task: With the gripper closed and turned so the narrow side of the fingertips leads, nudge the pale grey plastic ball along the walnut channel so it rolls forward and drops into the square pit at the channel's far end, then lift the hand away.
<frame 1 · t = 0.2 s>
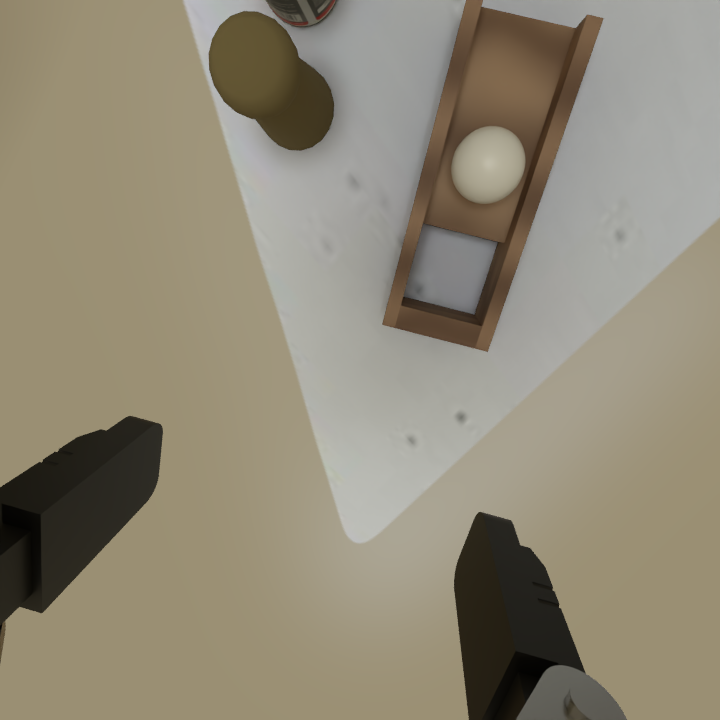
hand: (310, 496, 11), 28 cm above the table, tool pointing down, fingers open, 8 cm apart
pepper mill: (296, 108, 34), on the table
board: (471, 193, 34), on the table
ball: (487, 166, 29), point 5 cm above the table, touching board
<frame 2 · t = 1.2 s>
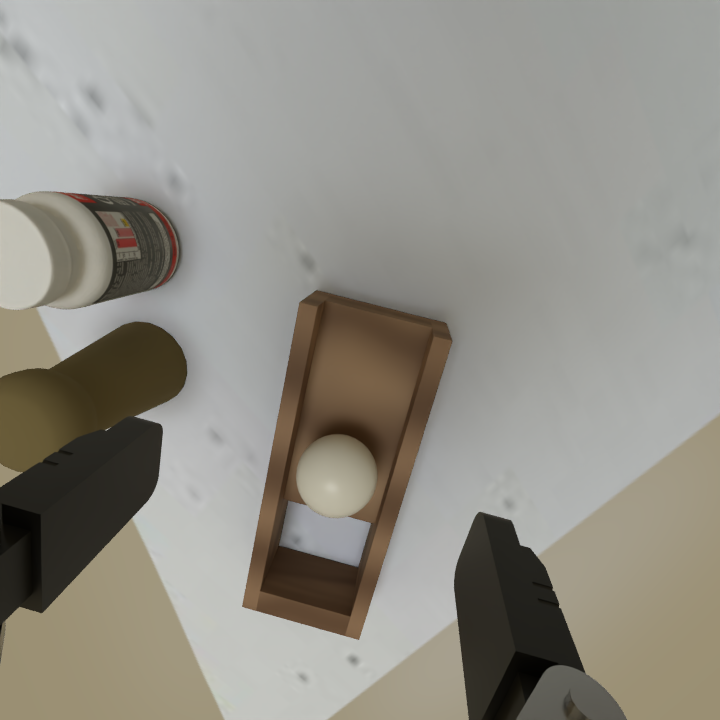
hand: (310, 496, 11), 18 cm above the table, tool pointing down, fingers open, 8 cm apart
pepper mill: (147, 362, 31), on the table
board: (343, 455, 31), on the table
pill bottle: (141, 245, 28), on the table
ball: (337, 475, 26), point 5 cm above the table, touching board
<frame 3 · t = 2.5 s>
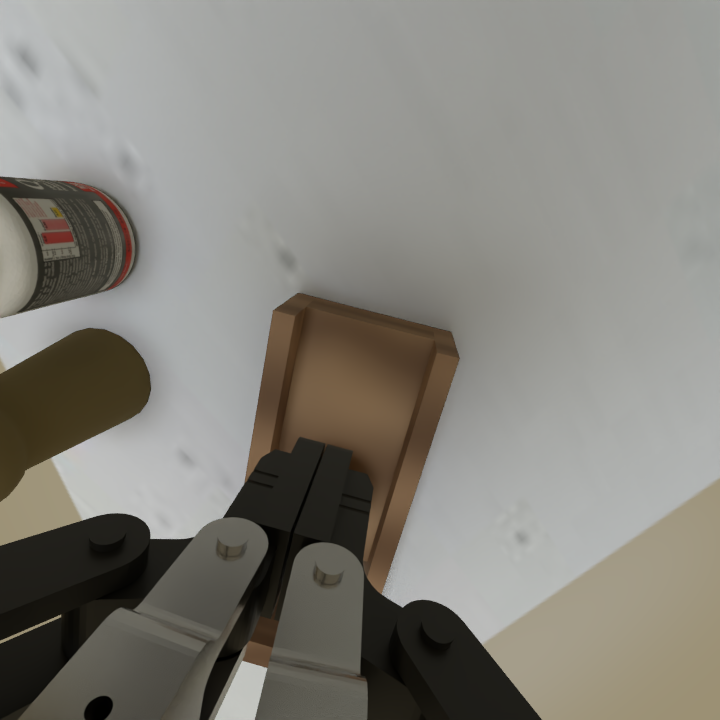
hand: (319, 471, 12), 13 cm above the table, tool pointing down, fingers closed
pepper mill: (105, 375, 27), on the table
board: (332, 481, 27), on the table
pill bottle: (92, 239, 24), on the table
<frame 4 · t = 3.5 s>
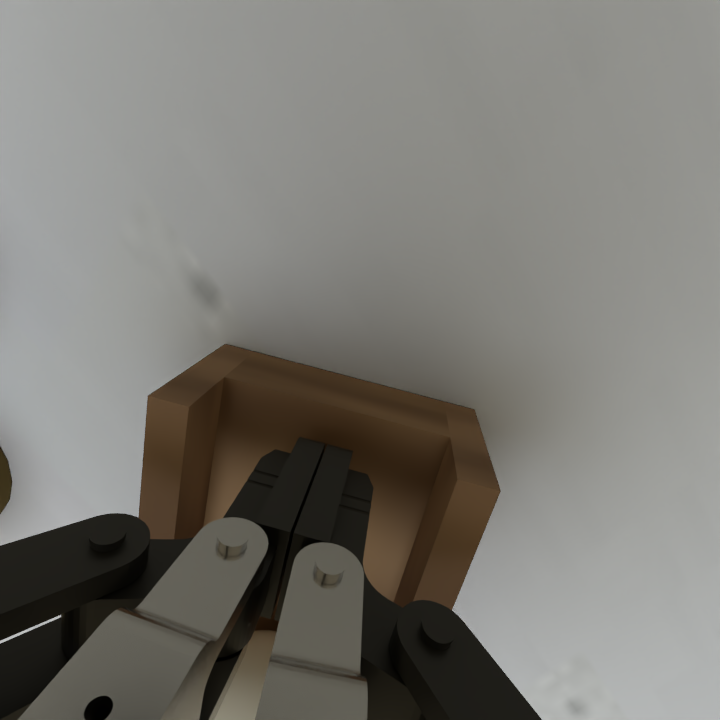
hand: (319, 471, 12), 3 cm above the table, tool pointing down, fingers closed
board: (289, 620, 18), on the table
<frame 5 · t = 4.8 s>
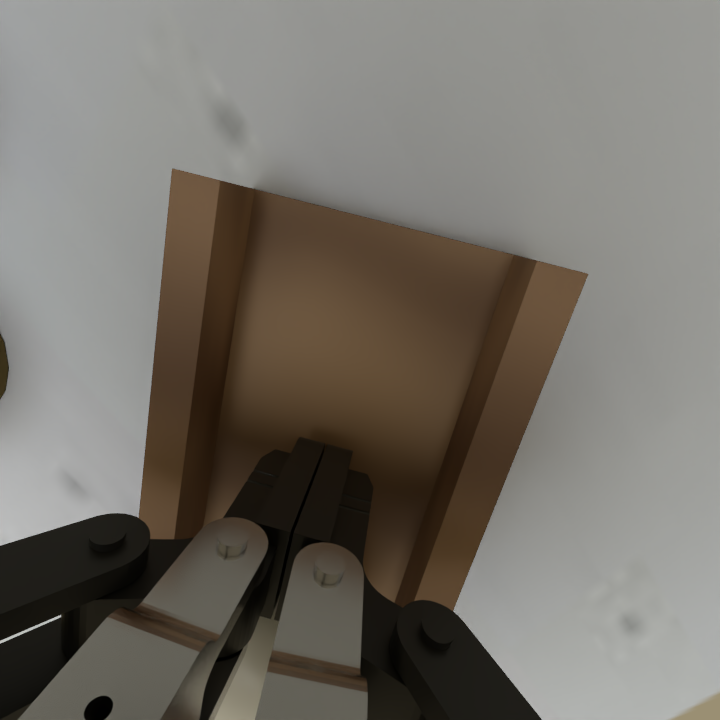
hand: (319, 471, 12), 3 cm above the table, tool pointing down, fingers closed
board: (312, 526, 16), on the table
ball: (276, 621, 11), point 5 cm above the table, tilted 12°, touching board, gripper
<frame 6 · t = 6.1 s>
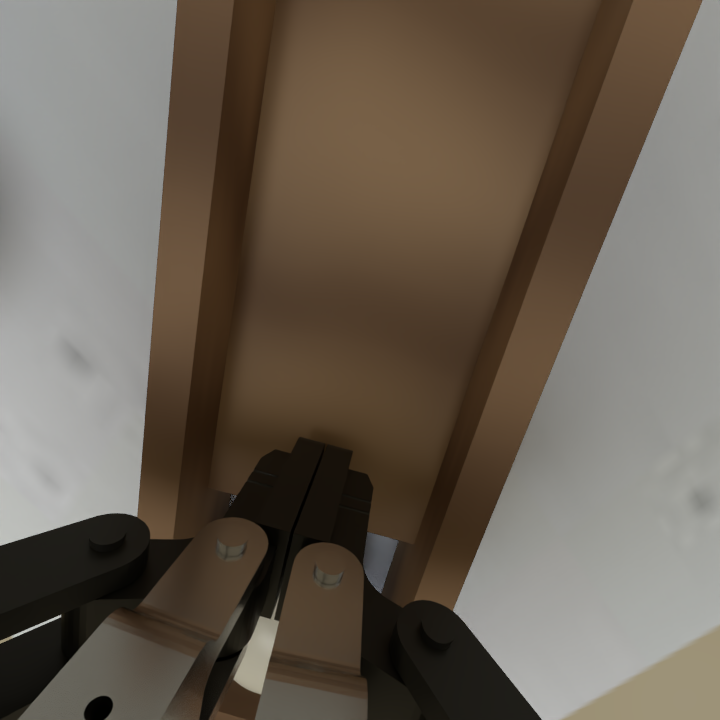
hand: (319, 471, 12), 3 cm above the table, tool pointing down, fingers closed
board: (343, 395, 14), on the table
ball: (285, 603, 14), point 2 cm above the table, tilted 166°
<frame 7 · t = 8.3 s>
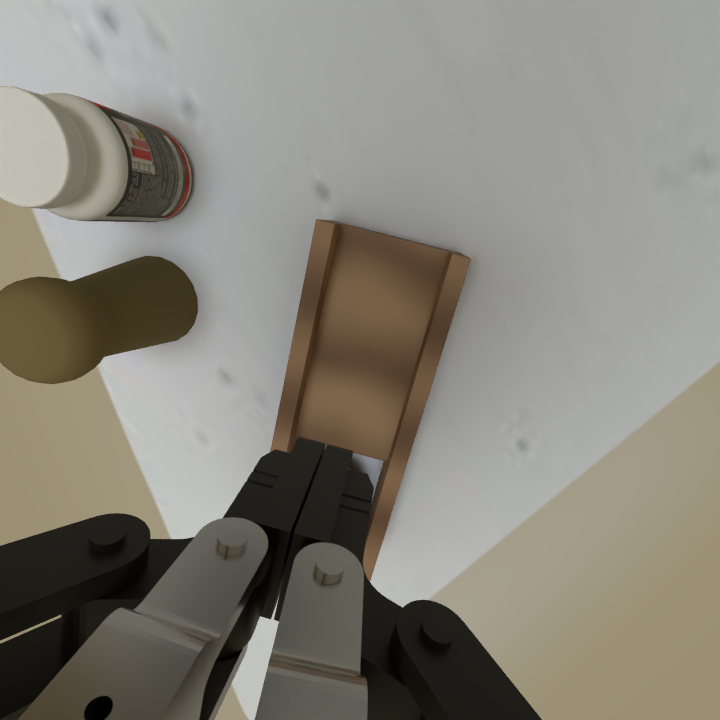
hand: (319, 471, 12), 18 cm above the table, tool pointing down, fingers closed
pepper mill: (157, 300, 30), on the table
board: (355, 395, 30), on the table
pill bottle: (153, 175, 28), on the table
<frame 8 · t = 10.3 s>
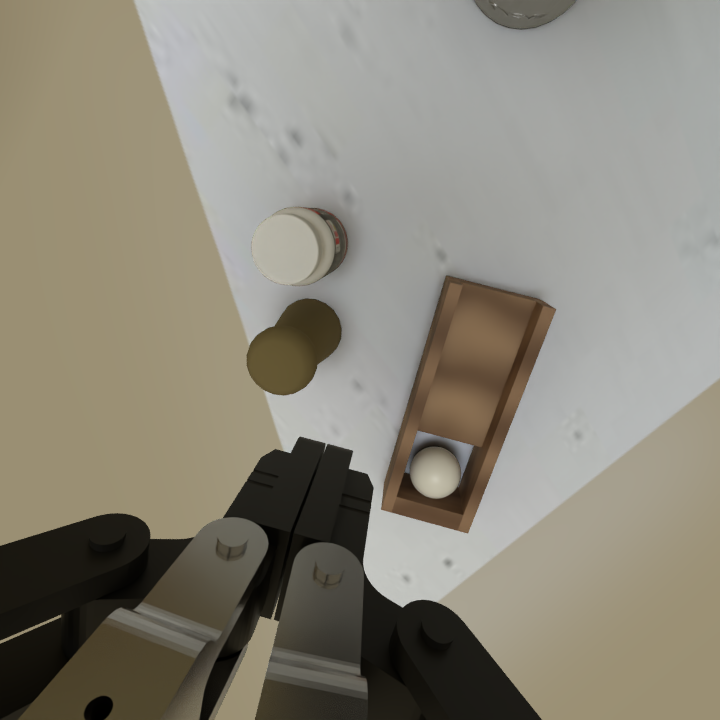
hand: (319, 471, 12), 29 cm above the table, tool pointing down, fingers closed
pepper mill: (310, 329, 41), on the table
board: (455, 399, 41), on the table
pill bottle: (316, 242, 39), on the table
ball: (435, 472, 41), point 2 cm above the table, tilted 169°
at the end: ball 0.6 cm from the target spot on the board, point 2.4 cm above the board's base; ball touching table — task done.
